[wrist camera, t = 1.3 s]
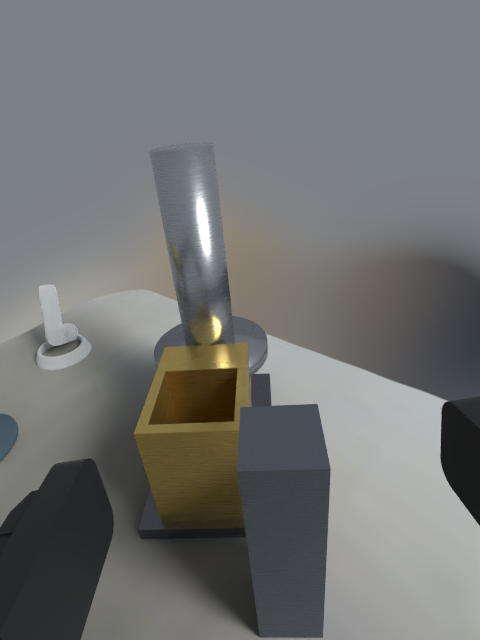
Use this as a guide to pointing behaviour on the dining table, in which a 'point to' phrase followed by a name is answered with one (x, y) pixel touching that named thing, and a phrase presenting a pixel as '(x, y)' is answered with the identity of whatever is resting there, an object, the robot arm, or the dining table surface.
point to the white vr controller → (58, 333)
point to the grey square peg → (285, 515)
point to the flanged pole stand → (197, 364)
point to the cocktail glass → (7, 434)
